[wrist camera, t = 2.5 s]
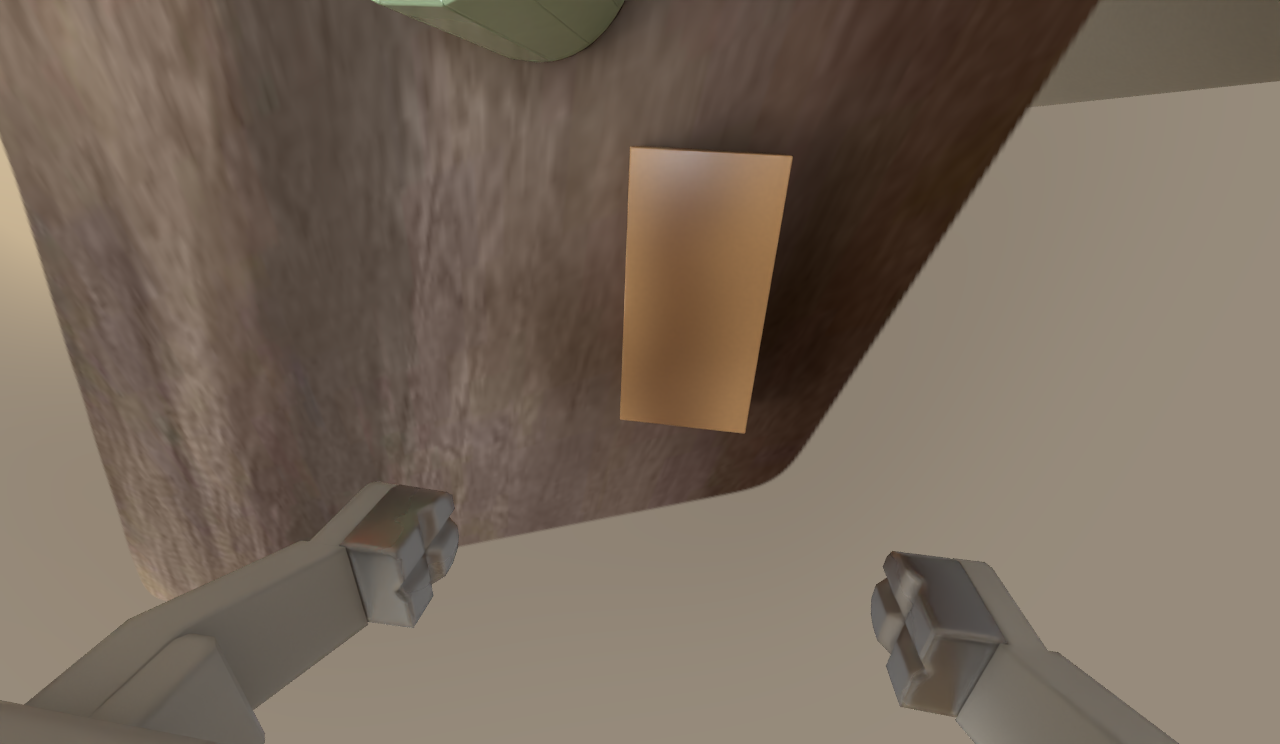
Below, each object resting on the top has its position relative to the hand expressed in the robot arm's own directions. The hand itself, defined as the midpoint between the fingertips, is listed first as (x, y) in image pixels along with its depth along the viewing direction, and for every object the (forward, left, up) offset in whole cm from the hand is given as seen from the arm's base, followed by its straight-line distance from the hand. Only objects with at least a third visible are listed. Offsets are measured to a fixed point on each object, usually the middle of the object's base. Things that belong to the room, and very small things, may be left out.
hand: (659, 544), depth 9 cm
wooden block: (0, 0, -18) cm, 18 cm away
